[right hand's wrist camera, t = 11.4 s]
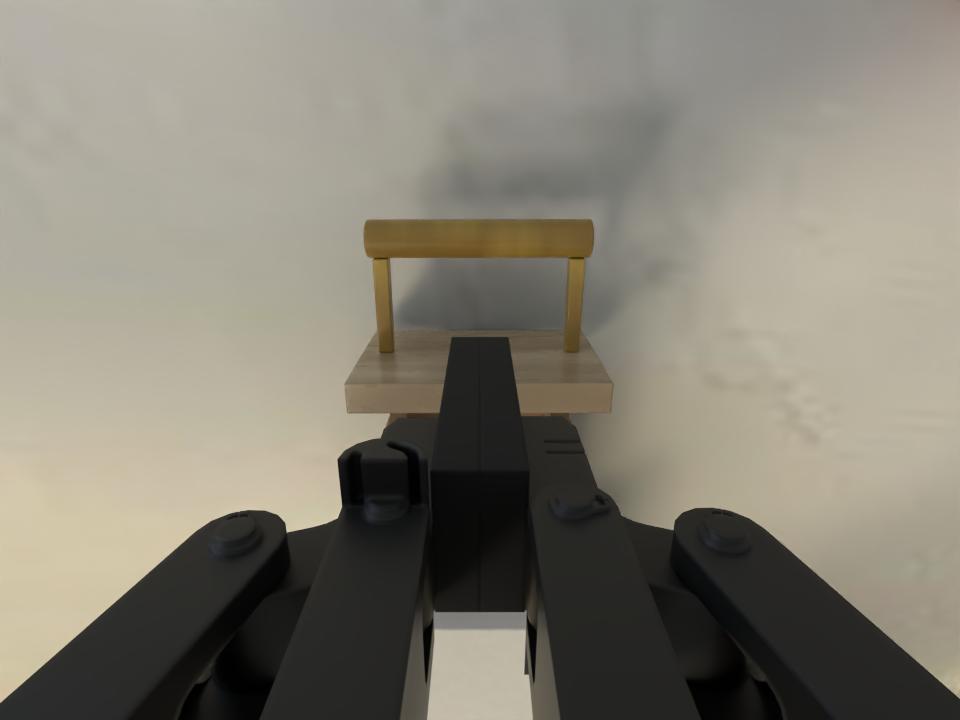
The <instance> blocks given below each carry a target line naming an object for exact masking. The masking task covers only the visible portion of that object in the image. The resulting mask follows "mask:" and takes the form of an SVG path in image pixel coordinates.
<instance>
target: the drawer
mask: <svg viewBox="0 0 960 720" xmlns="http://www.w3.org/2000/svg"><path fill="white" fill-rule="evenodd" d="M593 245H594V226H593V222H592V220H590V219H433V220H366V222H365V225H364V247H365V252H366V255H367V257H369V258H374V259H373V273H374V287H375V302H376V316H377V331H376V333H375V334H374V336H373V338H372V339H371V341H370V343H369V344H368V346H367V348H366V349H365V351H364V352H363V354H362V356H361V357H360V359H359V361H358V362H357V364H356V366H355V367H354V369H353V371H352V372H351V374H350V376H349V377H348V379H347V381H346V382H345V384H344V385H345V395H346V406H347V413H391V414H390V416H389V419H388V422H387V425H386V427H387V426H388V425H390V424H391V423H392V422H393V421H395V420H396V419H397V418H439V412H440V406H441V400H442V393H443V387H444V381H445V375H446V368H447V362H448V356H449V350H450V343H451V337H509V343H510V350H511V356H512V362H513V368H514V375H515V381H516V387H517V393H518V400H519V406H520V412H521V416H563V417H564V418H565V419H566V420H568V421H569V422H570V423H571V420H570V417H569V414H568V413H611V406H612V395H613V382H612V380H611V379H610V377H609V375H608V374H607V372H606V370H605V369H604V367H603V365H602V363H601V362H600V360H599V358H598V357H597V355H596V353H595V352H594V350H593V348H592V347H591V345H590V343H589V342H588V340H587V338H586V337H585V335H584V333H583V332H582V331H581V317H582V302H583V286H584V271H585V259H584V258H588V257H590V256H591V254H592V251H593ZM390 258H568V269H567V287H566V306H565V324H564V330H498V331H394V322H393V305H392V288H391V271H390ZM571 424H572V423H571ZM434 610H435V605H434ZM525 610H526V602H525Z"/></svg>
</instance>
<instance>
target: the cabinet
mask: <svg viewBox="0 0 960 720" xmlns="http://www.w3.org/2000/svg"><path fill="white" fill-rule="evenodd" d="M526 614H527V612H526V610H525V612H435V610H434V649H433V660H432V671H431V682H430V693H429V704H428V715H427V720H533V714H532V703H531V692H530V682H529V675H524V667H525V640H526Z"/></svg>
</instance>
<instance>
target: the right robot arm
mask: <svg viewBox="0 0 960 720" xmlns="http://www.w3.org/2000/svg"><path fill="white" fill-rule="evenodd" d="M338 469H339V478H340V488H341V498H342V509H341V512H340V514H339V517H338V519H336V520H333V521H331V522H329V523H327V524H323V525H320V526H316V527H312V528H308V529H303V530H298V531H293V532H288V533H287V532H286V525H285V522H284V521H283V520H282V519H281V518H280V517H279V516H278V515H276V514H273V513H270V512H267V511H256V510H247V511H240V512H235V513H231V514H228V515H225V516H223V517H220V518H218V519H215V520H213V521H211V522H209V523H208V524H206V525H205V526H203V527H202V528H200V529H199V530H197V531H196V532H195V533H194V534H193V535H191V536H190V537H189V538H188V539H187V540H186V541H185V542H183V543H182V544H181V545H180V546H179V547H178V548H177V549H175V550H174V551H173V552H172V553H171V554H170V555H169V556H168V557H166V558H165V559H164V560H163V561H162V562H161V563H160V564H158V565H157V566H156V567H155V568H154V569H153V570H152V571H150V572H149V573H148V574H147V575H146V576H145V577H144V578H142V579H141V580H140V581H139V582H138V583H137V584H136V585H134V586H133V587H132V588H131V589H130V590H129V591H128V592H127V593H125V594H124V595H123V596H122V597H121V598H120V599H119V600H117V601H116V602H115V603H114V604H113V605H112V606H111V607H109V608H108V609H107V610H106V611H105V612H104V613H103V614H101V615H100V616H99V617H98V618H97V619H96V620H95V621H93V622H92V623H91V624H90V625H89V626H88V627H87V628H85V629H84V630H83V631H82V632H81V633H80V634H79V635H78V636H76V637H75V638H74V639H73V640H72V641H71V642H70V643H68V644H67V645H66V646H65V647H64V648H63V649H62V650H60V651H59V652H58V653H57V654H56V655H55V656H54V657H52V658H51V659H50V660H49V661H48V662H47V663H46V664H44V665H43V666H42V667H41V668H40V669H39V670H38V671H37V672H35V673H34V674H33V675H32V676H31V677H30V678H29V679H27V680H26V681H25V682H24V683H23V684H22V685H21V686H19V687H18V688H17V689H16V690H15V691H14V692H13V693H11V694H10V695H9V696H8V697H7V698H6V699H5V700H3V701H2V702H1V703H0V720H427V715H428V704H429V693H430V682H431V671H432V660H433V649H434V605H435V612H525V602H526V612H527V614H526V640H525V667H524V675H529V682H530V692H531V703H532V714H533V720H960V699H959V698H958V697H957V696H956V695H955V694H954V693H952V692H951V691H950V690H949V689H948V688H947V687H946V686H944V685H943V684H942V683H941V682H940V681H939V680H938V679H936V678H935V677H934V676H933V675H932V674H931V673H929V672H928V671H927V670H926V669H925V668H924V667H923V666H921V665H920V664H919V663H918V662H917V661H916V660H915V659H913V658H912V657H911V656H910V655H909V654H908V653H906V652H905V651H904V650H903V649H902V648H901V647H900V646H898V645H897V644H896V643H895V642H894V641H893V640H892V639H890V638H889V637H888V636H887V635H886V634H885V633H884V632H882V631H881V630H880V629H879V628H878V627H877V626H875V625H874V624H873V623H872V622H871V621H870V620H869V619H867V618H866V617H865V616H864V615H863V614H862V613H861V612H859V611H858V610H857V609H856V608H855V607H854V606H853V605H851V604H850V603H849V602H848V601H847V600H846V599H844V598H843V597H842V596H841V595H840V594H839V593H838V592H836V591H835V590H834V589H833V588H832V587H831V586H830V585H828V584H827V583H826V582H825V581H824V580H823V579H821V578H820V577H819V576H818V575H817V574H816V573H815V572H813V571H812V570H811V569H810V568H809V567H808V566H807V565H805V564H804V563H803V562H802V561H801V560H800V559H799V558H797V557H796V556H795V555H794V554H793V553H792V552H790V551H789V550H788V549H787V548H786V547H785V546H784V545H782V544H781V543H780V542H779V541H778V540H777V539H776V538H774V537H773V536H772V535H771V534H770V533H769V532H768V531H766V530H765V529H764V528H762V527H761V526H759V525H758V524H756V523H755V522H753V521H752V520H750V519H749V518H746V517H744V516H741V515H739V514H736V513H734V512H731V511H727V510H721V509H716V508H695V509H692V510H689V511H686V512H683V513H682V514H681V515H680V516H679V517H678V518H677V519H676V520H675V525H674V531H673V530H669V529H664V528H659V527H654V526H649V525H645V524H642V523H638V522H635V521H632V520H630V519H627V518H625V517H623V516H621V514H620V511H619V509H618V506H617V505H616V503H615V502H614V501H613V499H612V498H611V497H610V496H609V495H607V494H606V493H604V492H603V491H601V490H600V489H598V487H597V485H596V482H595V479H594V476H593V473H592V471H591V468H590V465H589V462H588V460H587V457H586V454H585V453H584V448H583V446H582V443H581V440H580V437H579V434H578V432H577V429H576V427H575V426H574V425H573V424H571V423H570V422H569V421H568V420H566V419H565V418H564V417H563V416H521V412H520V406H519V400H518V393H517V387H516V381H515V375H514V368H513V362H512V356H511V350H510V343H509V337H451V343H450V350H449V356H448V362H447V368H446V375H445V381H444V387H443V393H442V400H441V406H440V412H439V418H397V419H396V420H395V421H393V422H392V423H391V424H390V425H388V426H387V427H386V428H385V429H384V431H383V434H382V437H381V438H380V439H372V440H368V441H365V442H361V443H358V444H356V445H354V446H352V447H351V448H349V449H347V450H345V451H344V452H343V453H342V455H341V456H340V457H339V458H338Z"/></svg>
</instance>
